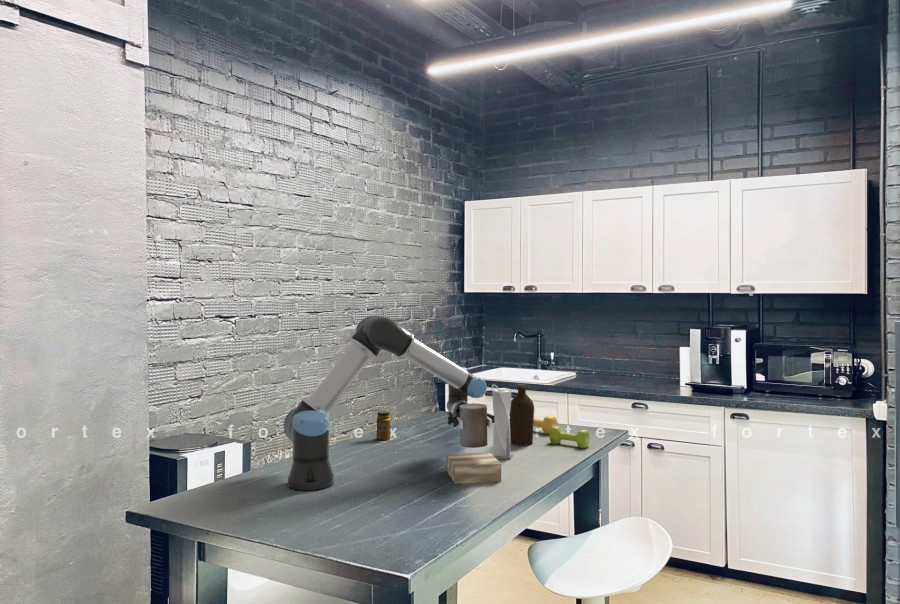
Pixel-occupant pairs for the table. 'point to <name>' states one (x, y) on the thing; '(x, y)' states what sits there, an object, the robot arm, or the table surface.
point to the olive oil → (521, 418)
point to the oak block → (473, 467)
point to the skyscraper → (501, 423)
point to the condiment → (383, 427)
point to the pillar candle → (473, 425)
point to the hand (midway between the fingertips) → (476, 424)
